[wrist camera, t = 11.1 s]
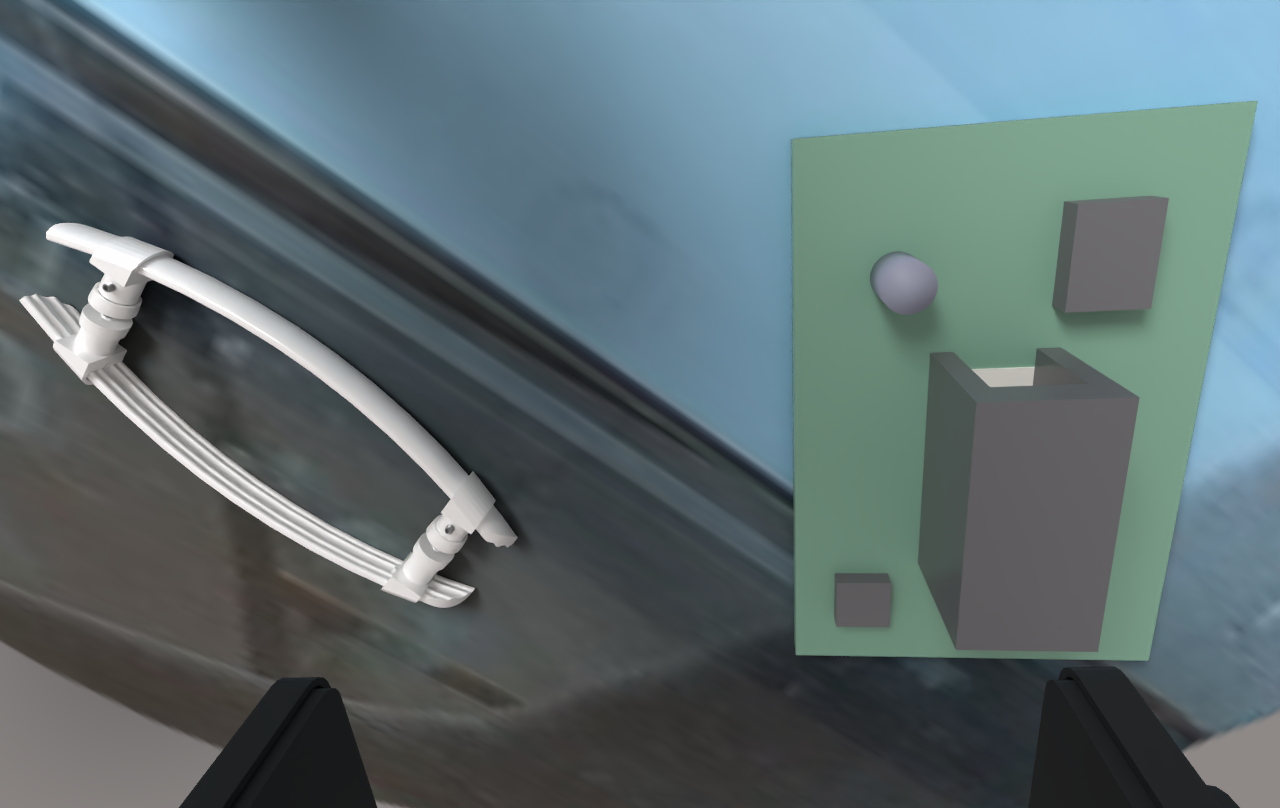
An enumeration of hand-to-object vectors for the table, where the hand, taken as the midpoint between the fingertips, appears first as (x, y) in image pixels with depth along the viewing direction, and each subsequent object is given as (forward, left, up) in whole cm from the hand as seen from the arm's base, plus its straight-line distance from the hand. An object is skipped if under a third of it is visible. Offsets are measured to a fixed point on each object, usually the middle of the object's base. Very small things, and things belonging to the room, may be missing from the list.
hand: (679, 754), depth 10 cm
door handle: (+4, -21, -24) cm, 32 cm away
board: (+4, +11, -23) cm, 26 cm away
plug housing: (+6, +11, -22) cm, 26 cm away
